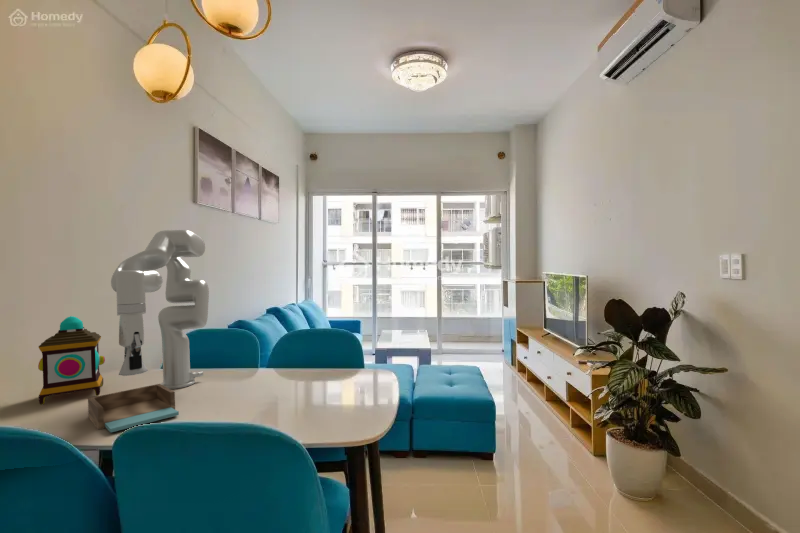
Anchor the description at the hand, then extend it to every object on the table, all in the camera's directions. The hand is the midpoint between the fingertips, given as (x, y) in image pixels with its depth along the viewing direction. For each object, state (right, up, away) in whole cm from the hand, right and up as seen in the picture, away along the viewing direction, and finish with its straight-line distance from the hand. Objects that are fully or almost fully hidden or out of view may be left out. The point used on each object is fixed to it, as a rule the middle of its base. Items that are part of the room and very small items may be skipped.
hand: (133, 367), depth 126 cm
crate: (-2, -15, +2) cm, 15 cm away
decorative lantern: (-41, -18, +27) cm, 52 cm away
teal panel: (+4, -13, -4) cm, 15 cm away
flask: (0, -2, 0) cm, 2 cm away
